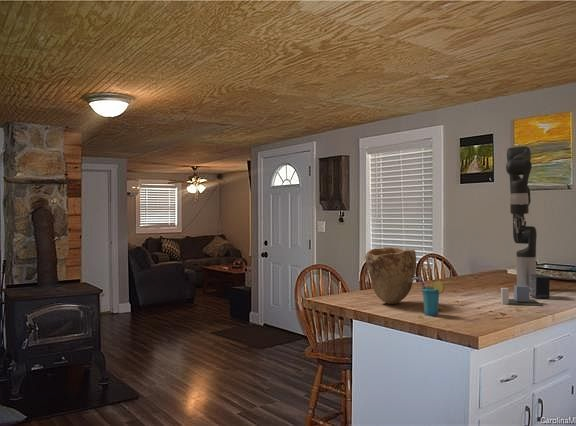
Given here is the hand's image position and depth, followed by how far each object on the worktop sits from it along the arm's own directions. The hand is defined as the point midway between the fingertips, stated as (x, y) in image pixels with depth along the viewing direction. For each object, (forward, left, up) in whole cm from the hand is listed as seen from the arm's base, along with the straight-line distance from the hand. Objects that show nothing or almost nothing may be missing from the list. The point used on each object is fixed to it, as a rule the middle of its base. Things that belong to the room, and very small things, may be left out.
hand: (519, 241), depth 231 cm
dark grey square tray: (+2, 0, -28) cm, 28 cm away
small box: (-14, +12, -28) cm, 33 cm away
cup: (+34, -43, -28) cm, 62 cm away
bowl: (+12, -58, -28) cm, 65 cm away
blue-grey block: (+2, 0, -27) cm, 27 cm away
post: (+6, -8, -28) cm, 29 cm away
